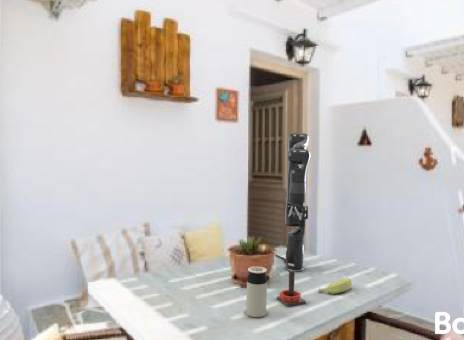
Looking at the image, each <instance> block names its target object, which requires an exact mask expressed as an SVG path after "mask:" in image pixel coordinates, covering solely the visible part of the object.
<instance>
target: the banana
mask: <svg viewBox="0 0 464 340" xmlns="http://www.w3.org/2000/svg"><path fill="white" fill-rule="evenodd" d="M352 287H353V283H352V279H351V278H350V277H346V276H345V277H343V278H341V279H340V280H338V281H334V282H331V283H330V284H328V285H327V286H326V287H325V288H318V293H323V292H327V293H329V294H332V295H337V294H341V293H343V292H346V291H349V289H351V288H352Z"/></svg>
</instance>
